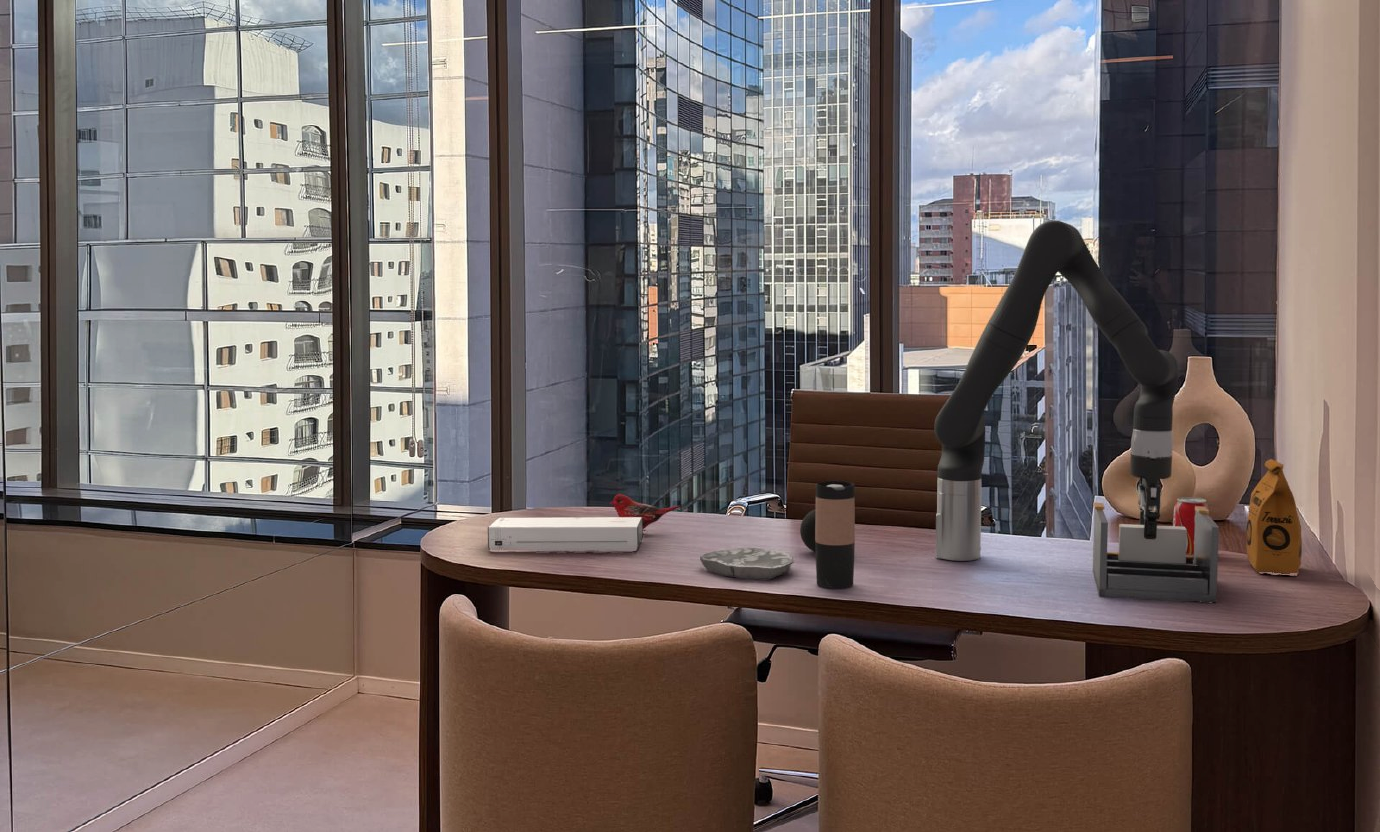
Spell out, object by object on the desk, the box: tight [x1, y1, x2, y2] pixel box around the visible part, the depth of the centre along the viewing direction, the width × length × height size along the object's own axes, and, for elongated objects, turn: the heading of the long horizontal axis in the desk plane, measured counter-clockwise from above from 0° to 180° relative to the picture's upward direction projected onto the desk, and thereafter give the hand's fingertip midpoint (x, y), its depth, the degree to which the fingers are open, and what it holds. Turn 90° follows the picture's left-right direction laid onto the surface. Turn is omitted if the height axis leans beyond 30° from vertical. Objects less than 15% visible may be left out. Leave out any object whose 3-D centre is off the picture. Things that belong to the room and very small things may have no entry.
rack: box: [1092, 502, 1220, 603], centre depth 215 cm, size 21×20×14 cm
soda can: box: [1172, 496, 1210, 558], centre depth 241 cm, size 7×7×12 cm
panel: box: [1118, 523, 1187, 564], centre depth 220 cm, size 12×3×9 cm, turn 74°
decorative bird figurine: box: [609, 493, 681, 531], centre depth 270 cm, size 3×18×10 cm, turn 106°
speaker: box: [799, 508, 816, 553], centre depth 247 cm, size 10×10×10 cm
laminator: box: [487, 516, 644, 552], centre depth 256 cm, size 34×12×6 cm, turn 87°
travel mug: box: [815, 480, 856, 590], centre depth 219 cm, size 8×8×20 cm
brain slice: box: [699, 547, 795, 580], centre depth 233 cm, size 20×17×3 cm
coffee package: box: [1245, 458, 1303, 574], centre depth 226 cm, size 10×12×22 cm
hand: (1147, 534), depth 220 cm, fingers open, 8 cm apart
